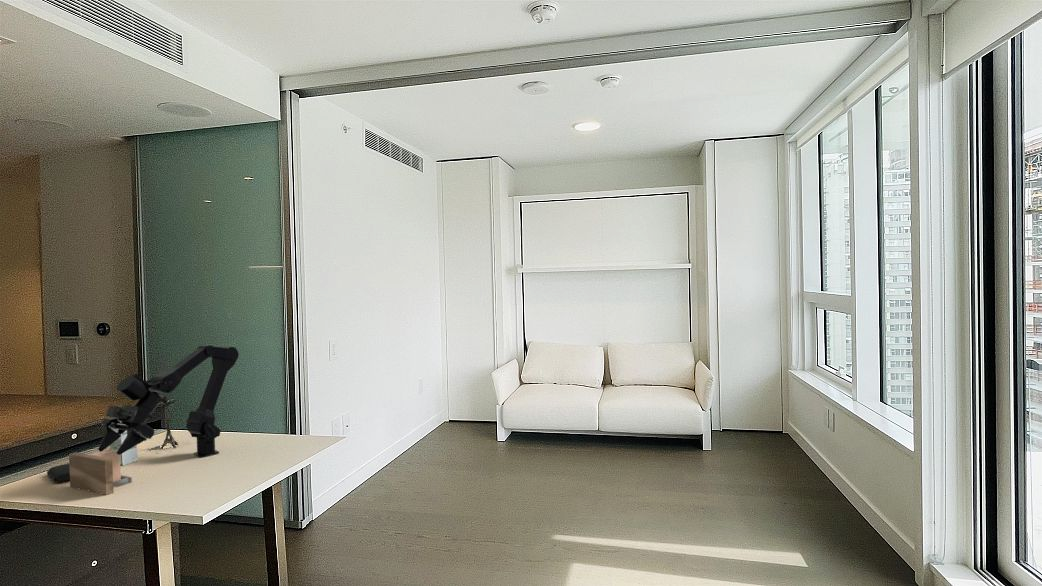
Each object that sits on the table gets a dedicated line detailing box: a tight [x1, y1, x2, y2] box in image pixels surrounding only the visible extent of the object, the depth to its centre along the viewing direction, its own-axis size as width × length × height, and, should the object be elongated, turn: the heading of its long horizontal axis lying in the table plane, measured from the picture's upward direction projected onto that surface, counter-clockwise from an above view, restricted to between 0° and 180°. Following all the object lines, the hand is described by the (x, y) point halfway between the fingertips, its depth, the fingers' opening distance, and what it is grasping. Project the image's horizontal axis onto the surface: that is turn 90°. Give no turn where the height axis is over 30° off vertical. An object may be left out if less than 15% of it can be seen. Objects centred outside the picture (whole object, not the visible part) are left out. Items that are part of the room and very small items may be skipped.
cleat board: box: [68, 451, 133, 496], centre depth 179 cm, size 10×18×10 cm, turn 65°
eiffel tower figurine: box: [148, 415, 179, 452], centre depth 220 cm, size 15×10×13 cm
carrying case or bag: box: [46, 463, 70, 484], centre depth 189 cm, size 11×3×15 cm
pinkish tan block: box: [88, 448, 122, 482], centre depth 179 cm, size 6×6×10 cm
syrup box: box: [109, 420, 139, 466], centre depth 202 cm, size 6×6×14 cm
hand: (108, 452), depth 180 cm, fingers open, 9 cm apart
